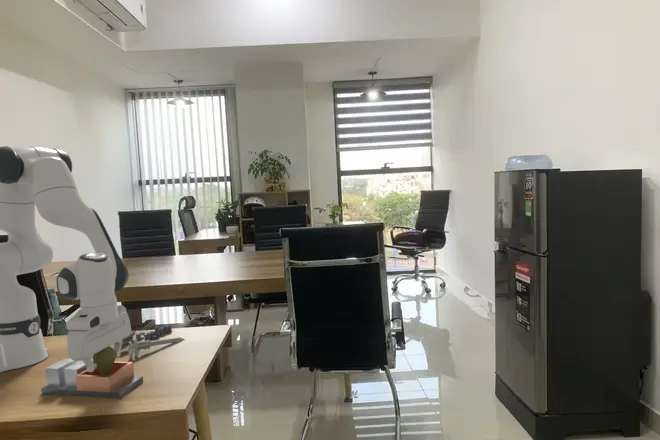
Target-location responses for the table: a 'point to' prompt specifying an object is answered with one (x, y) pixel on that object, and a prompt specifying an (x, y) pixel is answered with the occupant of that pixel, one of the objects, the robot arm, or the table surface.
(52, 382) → the desk organizer
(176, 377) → the table surface
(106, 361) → the light bulb
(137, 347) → the caliper
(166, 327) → the block letters
